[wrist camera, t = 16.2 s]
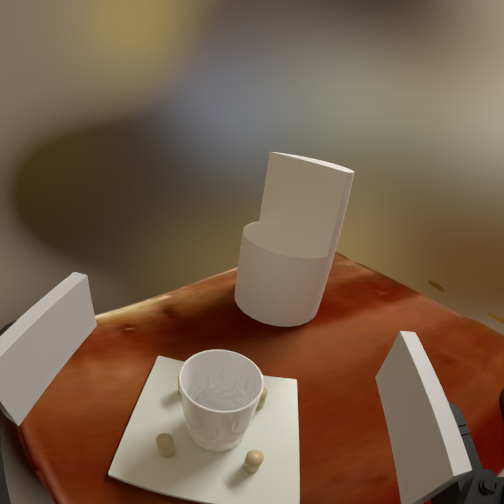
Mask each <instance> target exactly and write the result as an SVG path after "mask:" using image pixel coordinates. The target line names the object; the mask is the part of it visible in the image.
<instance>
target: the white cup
mask: <svg viewBox="0 0 504 504" xmlns="http://www.w3.org/2000/svg"><path fill="white" fill-rule="evenodd" d="M178 380H179V388H180V395H181V402H182V409H183V414H184V418H185V422H186V424H187V429H188V435H189V436H190V437H191V439H192V440H193V441H194V443H195V444H196V445H198V446H200V447H202V448H204V449H206V450H209V451H218V452H222V451H225V450H229V449H232V448H234V447H235V446H236V445H237V444H238V443H239V442H241V441H242V439H243V436H244V434H245V432H246V430H247V428H248V427H249V424H250V422H251V420H252V418H253V415H254V413H255V410H256V408H257V405H258V402H259V400H260V397H261V394H262V392H263V388H264V380H263V376H262V373H261V371H260V370H259V368H258V367H257V366H256V365H255V364H254V363H253V362H252V361H251V360H250V359H248V358H247V357H245V356H243V355H241V354H238V353H236V352H232V351H228V350H207V351H203V352H200V353H197V354H195V355H193V356H191V357H190V358H189V359H187V360H186V361H185V362H184V364H183V365H182V367H181V369H180V371H179V377H178Z"/></svg>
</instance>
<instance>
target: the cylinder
mask: <svg viewBox="0 0 504 504" xmlns="http://www.w3.org/2000/svg"><path fill="white" fill-rule="evenodd" d="M353 177H354V171H352V170H350V169H348V168H345V167H342V166H339V165H336V164H332V163H328V162H325V161H320V160H316V159H312V158H307V157H302V156H297V155H291V154H284V153H277V152H270V156H269V162H268V169H267V175H266V181H265V188H264V194H263V200H262V206H261V213H260V220H259V221H258V222H253V223H250V224H248V225H247V226H245V228H244V229H243V235H242V243H241V250H240V257H239V264H238V272H237V279H236V286H235V301H236V303H237V306H238V307H239V308H240V309H241V310H242V311H243V312H244V313H245V314H247V315H248V316H250V317H251V318H253V319H255V320H258V321H260V322H262V323H265V324H270V325H274V326H284V327H290V326H298V325H301V324H304V323H307V322H309V321H310V320H311V319H313V318H314V317H315V315H316V313H317V311H318V308H319V305H320V302H321V298H322V295H323V292H324V289H325V285H326V282H327V279H328V275H329V272H330V268H331V265H332V261H333V258H334V254H335V251H336V247H337V243H338V239H339V236H340V232H341V228H342V224H343V220H344V216H345V212H346V208H347V203H348V199H349V195H350V190H351V186H352V181H353Z"/></svg>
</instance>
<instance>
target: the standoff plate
mask: <svg viewBox="0 0 504 504" xmlns="http://www.w3.org/2000/svg"><path fill="white" fill-rule="evenodd" d="M183 364H184V361H179V360H175V359H170V358H166V357H162V356H158V358H157V360H156V362H155V364H154V366H153V369H152V371H151V373H150V375H149V377H148V380H147V382H146V384H145V386H144V389H143V391H142V393H141V395H140V398H139V400H138V402H137V404H136V407H135V409H134V411H133V414H132V416H131V418H130V421H129V423H128V425H127V428H126V430H125V433H124V435H123V437H122V440H121V442H120V445H119V447H118V449H117V452H116V454H115V457H114V459H113V462H112V464H111V467H110V469H109V472H108V475H109V476H110V477H112V478H115V479H117V480H120V481H123V482H125V483H128V484H131V485H134V486H137V487H140V488H143V489H146V490H149V491H153V492H156V493H160V494H163V495H167V496H171V497H175V498H179V499H183V500H188V501H192V502H197V503H203V504H299V429H298V401H297V379H288V378H279V377H270V376H263V375H262V376H263V380H264V388H263V392H262V394H261V397H260V400H259V402H258V405H257V408H256V410H255V413H254V415H253V418H252V420H251V422H250V424H249V427H248V428H247V430H246V432H245V434H244V436H243V439H242V441H241V442H239V443H238V444H237V445H236V446H235V447H234V448H232V449H229V450H225V451H222V452H218V451H209V450H206V449H204V448H202V447H200V446H198V445H196V444H195V443H194V441H193V440H192V439H191V437H190V436H189V435H188V429H187V424H186V422H185V418H184V414H183V409H182V402H181V395H180V388H179V380H178V377H179V371H180V369H181V367H182V365H183Z"/></svg>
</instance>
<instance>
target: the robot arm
mask: <svg viewBox="0 0 504 504" xmlns="http://www.w3.org/2000/svg"><path fill="white" fill-rule="evenodd" d="M96 326H97V325H96V320H95V316H94V311H93V307H92V301H91V295H90V289H89V283H88V277H87V275H84V274H81V273H77V272H74V273H72V274H71V275H70V276H69V277H67V278H66V279H65V280H64V281H62V282H61V283H60V284H59V285H57V286H56V287H55V288H54V289H53V290H51V291H50V292H49V293H48V294H47V295H46V296H44V297H43V298H42V299H41V300H40V301H39V302H37V303H36V304H35V305H34V306H33V307H32V308H30V309H29V310H28V311H27V312H26V313H25V314H24V315H23V316H21V317H20V318H19V319H18V320H17V321H14V322H12V323H10V324H8V325H6V326H5V327H3V329H1V330H0V409H1V410H2V411H3V413H4V414H5V415H6V417H8V418H9V419H10V420H12V421H13V422H14V423H15V424H17V425H18V426H19V425H20V424H21V423H22V421H23V420H24V418H25V417H26V415H27V414H28V413H29V411H30V410H31V408H32V407H33V406H34V404H35V403H36V401H37V400H38V399H39V397H40V396H41V395H42V393H43V392H44V391H45V389H46V388H47V387H48V385H49V384H50V383H51V381H52V380H53V379H54V377H55V376H56V375H57V374H58V372H59V371H60V370H61V368H62V367H63V366H64V365H65V363H66V362H67V361H68V360H69V358H70V357H71V356H72V355H73V353H74V352H75V351H76V350H77V349H78V347H79V346H80V345H81V344H82V342H83V341H84V340H85V339H86V338H87V336H88V335H89V334H90V333H91V332H92V331H93V329H94V328H95V327H96ZM375 378H376V382H377V386H378V390H379V393H380V397H381V401H382V405H383V410H384V414H385V418H386V422H387V427H388V431H389V436H390V441H391V446H392V451H393V456H394V461H395V467H396V472H397V478H398V484H399V491H400V498H401V504H422V503H424V502H426V501H428V500H429V499H431V504H504V477H497V476H496V475H495V473H494V472H492V471H491V470H487V469H484V470H483V468H482V466H481V463H480V460H479V457H478V454H477V451H476V448H475V445H474V443H473V440H472V437H471V435H469V433H470V432H469V429H468V427H467V426H466V422H465V419H464V417H463V414H462V412H461V411H460V410H459V409H458V408H457V406H456V405H455V404H454V403H453V404H448V401H447V399H446V396H445V394H444V392H443V390H442V387H441V385H440V383H439V380H438V378H437V376H436V374H435V372H434V370H433V367H432V365H431V363H430V361H429V359H428V357H427V355H426V353H425V351H424V349H423V347H422V345H421V343H420V341H419V339H418V337H417V335H416V333H415V332H406V331H400V332H399V334H398V336H397V338H396V340H395V342H394V344H393V346H392V348H391V350H390V352H389V354H388V356H387V358H386V359H385V361H384V363H383V365H382V367H381V368H380V370H379V372H378V374H377V375H376V377H375ZM500 403H501V408H502V411H503V413H504V388H503V389H502V391H501V395H500ZM0 504H11V503H10V498H9V494H8V489H7V484H6V479H5V473H4V466H3V459H2V449H1V438H0Z"/></svg>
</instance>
